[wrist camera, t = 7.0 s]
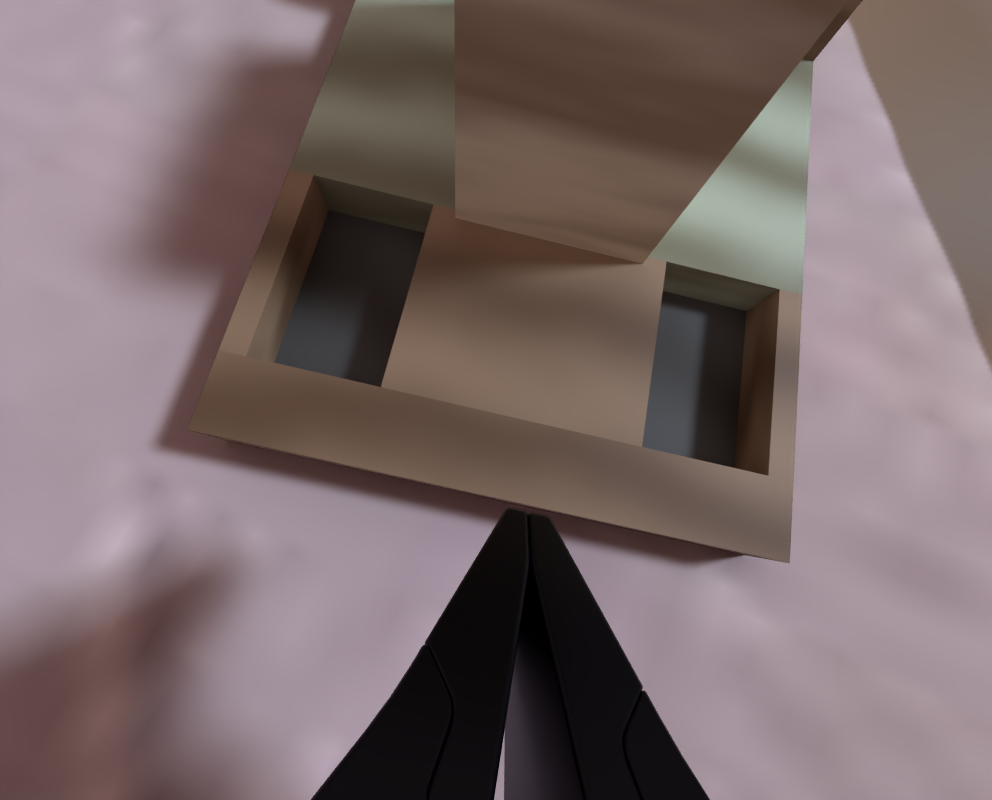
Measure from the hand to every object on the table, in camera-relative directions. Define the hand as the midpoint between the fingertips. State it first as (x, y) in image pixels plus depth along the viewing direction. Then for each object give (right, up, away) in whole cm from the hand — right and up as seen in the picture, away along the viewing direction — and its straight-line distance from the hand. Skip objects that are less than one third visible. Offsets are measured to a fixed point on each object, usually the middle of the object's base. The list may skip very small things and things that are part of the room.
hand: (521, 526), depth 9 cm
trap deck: (+2, +10, +13) cm, 16 cm away
